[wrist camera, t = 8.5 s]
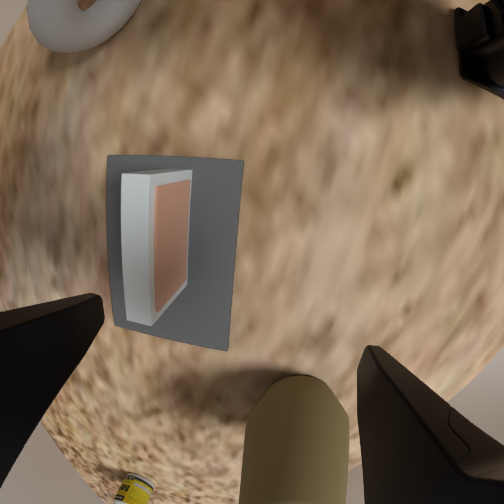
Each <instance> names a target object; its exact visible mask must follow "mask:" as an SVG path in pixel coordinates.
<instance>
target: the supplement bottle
mask: <svg viewBox="0 0 504 504" xmlns="http://www.w3.org/2000/svg"><path fill="white" fill-rule="evenodd" d="M153 490H154V485H153V483H152V482H150V481H149V480H148V479H146V478H144V477H142V476H140V475H137V474H134V473H129V474H127V475H126V477H125V479H124V481H123V483H122V484H121V486H120V488H119V490H118V492H117V494H116V496H115V497H114V499H113V504H147V503H148V500H149V498H150V496H151V494H152V492H153Z"/></svg>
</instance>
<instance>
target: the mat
mask: <svg viewBox="0 0 504 504" xmlns="http://www.w3.org/2000/svg"><path fill="white" fill-rule="evenodd" d="M243 167H244V161H241V160H229V159H215V158H199V157H180V156H147V155H108V161H107V193H106V215H107V247H108V264H109V277H110V288H111V298H112V307H113V315H114V323H115V326H118V327H122V328H126V329H129V330H133V331H137V332H141V333H144V334H148V335H152V336H157V337H161V338H165V339H169V340H173V341H178V342H182V343H187V344H192V345H196V346H201V347H206V348H211V349H217V350H222V351H228V346H229V332H230V319H231V306H232V293H233V280H234V268H235V256H236V244H237V233H238V221H239V210H240V199H241V188H242V178H243ZM168 168H172V169H190V170H192V183H191V199H190V217H189V241H188V276H187V285H186V287H185V288H184V289H183V290H182V291H181V292H180V294H179V295H178V296H177V297H176V298H175V299H174V301H173V302H172V303H171V304H170V305H169V306H168V308H167V309H166V310H165V311H164V312H163V314H162V315H161V316H160V317H159V318H158V320H157V321H156V322H155V323H154V324H153V325H152V326H148V325H144V324H140V323H136V322H132V321H128V320H127V317H126V307H125V296H124V284H123V268H122V247H121V179H122V173H130V172H139V171H148V170H158V169H168Z"/></svg>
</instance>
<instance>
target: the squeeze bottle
mask: <svg viewBox="0 0 504 504" xmlns="http://www.w3.org/2000/svg"><path fill="white" fill-rule="evenodd" d="M348 459H349V418H348V415H347V413H346V412H345V410H344V409H343V407H342V405H341V404H340V402H339V401H338V399H337V398H336V396H335V395H334V393H333V392H332V390H331V389H330V388H329V387H328V386H327V384H326V383H325V382H323V381H320V380H318V379H316V378H314V377H308V376H301V375H299V376H292V377H285V378H283V379H281V380H279V381H277V382H275V383H273V384H272V386H271V387H270V388H269V389H268V390H267V391H266V392H265V394H264V395H263V396H262V398H261V399H260V400H259V402H258V403H257V404H256V406H255V407H254V408H253V410H252V411H251V412H250V414H249V415H248V418H247V423H246V428H245V440H244V451H243V462H242V473H241V484H240V495H239V504H345V502H346V491H347V477H348Z"/></svg>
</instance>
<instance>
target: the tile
mask: <svg viewBox="0 0 504 504" xmlns="http://www.w3.org/2000/svg"><path fill="white" fill-rule="evenodd" d="M191 183H192V170H190V169H172V168H168V169H158V170H148V171H139V172H130V173H122V179H121V247H122V268H123V284H124V296H125V307H126V317H127V320H128V321H132V322H136V323H140V324H144V325H148V326H152V325H153V324H154V323H155V322H156V321H157V320H158V318H159V317H160V316H161V315H162V314H163V312H164V311H165V310H166V309H167V308H168V306H169V305H170V304H171V303H172V302H173V301H174V299H175V298H176V297H177V296H178V295H179V294H180V292H181V291H182V290H183V289H184V288H185V287H186V285H187V276H188V241H189V217H190V199H191Z"/></svg>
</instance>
